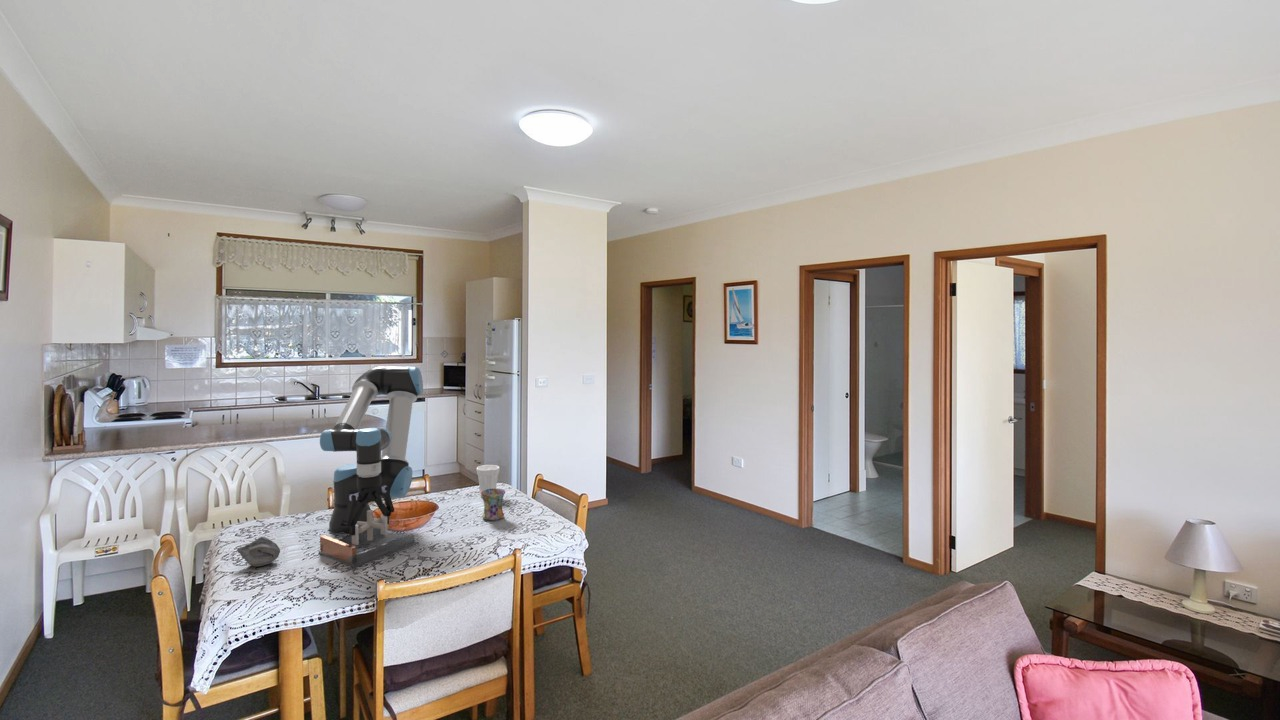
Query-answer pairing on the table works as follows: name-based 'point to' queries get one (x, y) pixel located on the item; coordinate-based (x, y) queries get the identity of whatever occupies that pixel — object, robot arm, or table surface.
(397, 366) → the robot arm
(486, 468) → the cup
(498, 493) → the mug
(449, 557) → the table surface
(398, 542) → the guide channel
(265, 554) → the fossil
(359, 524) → the pipe connector
